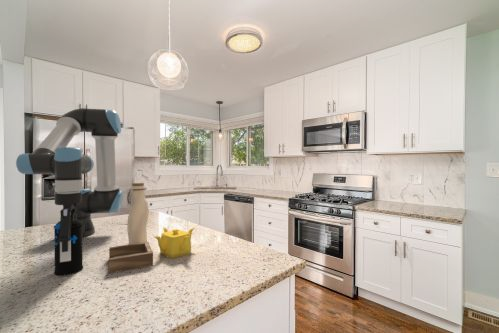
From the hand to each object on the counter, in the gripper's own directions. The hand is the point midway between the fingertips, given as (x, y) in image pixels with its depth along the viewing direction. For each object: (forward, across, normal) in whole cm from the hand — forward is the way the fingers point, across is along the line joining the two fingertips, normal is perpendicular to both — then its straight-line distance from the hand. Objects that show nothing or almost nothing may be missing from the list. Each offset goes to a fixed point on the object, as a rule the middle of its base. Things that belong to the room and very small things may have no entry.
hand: (68, 254), depth 84 cm
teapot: (+6, 0, +36) cm, 36 cm away
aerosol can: (+6, 0, 0) cm, 6 cm away
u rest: (+6, +2, +19) cm, 20 cm away
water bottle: (+6, -20, +23) cm, 31 cm away
